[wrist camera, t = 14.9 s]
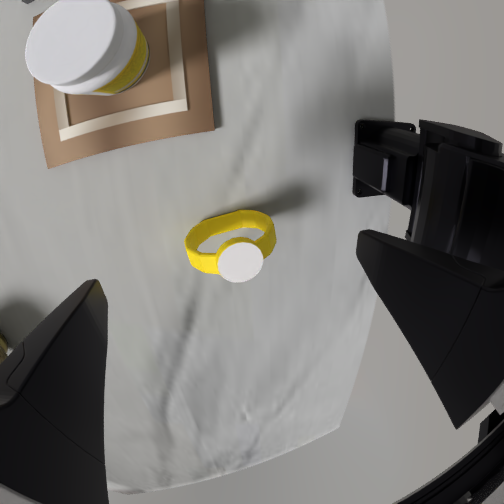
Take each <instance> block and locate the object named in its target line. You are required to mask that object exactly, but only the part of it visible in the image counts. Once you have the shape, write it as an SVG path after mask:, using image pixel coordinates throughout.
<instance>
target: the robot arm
mask: <svg viewBox="0 0 504 504" xmlns="http://www.w3.org/2000/svg"><path fill="white" fill-rule="evenodd" d="M361 124H363V127H362V128H361V127H360V126H361ZM419 127H420V134H417V133H416V127H415V125H414V124H411V123H403V122H391V121H377V120H358V121H356V123H355V146H354V157H353V194H354V195H355V196H357V197H359V198H360V197H369V196H377V195H387V196H388V197H390V198H392V199H393V200H395V201H397V202H399V203H400V204H402V205H403V206H405V207H407V208H408V209H410V210H411V215H410V221H409V226H408V230H406V235H405V238H406V240H404V239H401V238H398V237H394V236H391V235H388V234H384V233H381V232H377V231H374V230H370V229H368V230H362V231H360V232H359V234H358V240H357V248H356V255H357V258H358V260H359V262H360V264H361V265H362V267H363V269H364V271H365V273H366V275H367V276H368V278H369V280H370V282H371V284H372V286H373V287H374V289H375V291H376V292H377V294H378V295H379V297H380V298H381V300H382V301H383V303H384V304H385V306H386V308H387V309H388V311H389V312H390V314H391V315H392V317H393V318H394V320H395V322H396V323H397V325H398V326H399V328H400V329H401V331H402V333H403V334H404V336H405V338H406V339H407V341H408V342H409V344H410V346H411V348H412V349H413V351H414V352H415V354H416V356H417V358H418V360H419V361H420V363H421V365H422V366H423V368H424V370H425V372H426V374H427V375H428V377H429V379H430V381H431V383H432V385H433V386H434V388H435V390H436V392H437V394H438V396H439V398H440V400H441V401H442V403H443V405H444V407H445V409H446V411H447V413H448V415H449V417H450V419H451V421H452V423H453V425H454V427H455V428H456V429H458V428H460V427H461V426H462V425H463V424H464V423H466V422H467V421H469V420H470V419H471V418H472V417H473V416H475V415H476V414H477V413H478V412H479V411H481V410H482V409H483V408H484V407H485V406H486V405H487V404H488V403H490V402H491V403H492V405H493V406H494V407H495V410H494V411H493V412H492V413H491V414H490V415H489V416H488V417H487V418H486V419H485V420H484V421H482V422H481V423H480V431H479V438H478V444H477V445H476V446H475V447H474V448H473V449H472V450H470V451H469V452H468V453H467V454H466V455H464V456H463V457H462V458H461V459H459V460H458V461H457V462H456V463H454V464H453V465H452V466H451V467H449V468H448V469H446V470H445V471H443V472H442V473H441V474H439V475H438V476H436V477H435V478H434V479H432V480H431V481H429V482H428V483H426V484H425V485H423V486H421V487H420V488H418V489H417V490H415V491H414V492H412V493H410V494H408V495H407V496H405V497H403V498H402V499H400V500H398V501H396V502H395V503H393V504H504V154H503V153H502V143H501V142H499V141H497V140H495V139H493V138H491V137H490V136H487V135H486V134H484V133H481V132H478V131H475V130H471V129H468V128H464V127H460V126H456V125H451V124H445V123H439V122H433V121H427V120H419ZM410 128H411V130H410ZM359 189H360V192H359V193H358V190H359ZM107 345H108V302H107V299H106V296H105V294H104V292H103V289H102V287H101V284H100V282H99V281H98V280H97V279H92V280H87V281H85V282H84V283H83V284H82V285H81V286H80V287H79V288H77V289H76V290H75V291H74V292H73V293H72V294H71V295H70V296H69V297H67V298H66V299H65V300H64V301H63V302H62V303H61V304H60V305H59V306H58V307H57V308H56V309H55V310H54V311H52V312H51V313H50V314H49V315H48V316H47V317H46V318H45V319H44V320H43V321H42V322H41V323H40V324H39V325H38V326H37V327H36V328H35V329H34V330H33V331H32V332H31V333H30V334H29V335H28V336H27V337H26V338H25V339H24V340H23V342H21V343H20V344H19V345H18V346H17V347H16V348H15V349H14V350H13V352H12V353H11V354H10V355H9V356H8V357H7V358H6V359H5V360H4V361H3V362H2V363H1V364H0V504H109V500H108V491H107V481H106V469H105V465H104V464H105V455H104V388H105V370H106V357H107Z"/></svg>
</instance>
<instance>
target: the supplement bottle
mask: <svg viewBox="0 0 504 504" xmlns="http://www.w3.org/2000/svg"><path fill="white" fill-rule="evenodd" d="M25 57H26V63H27V67H28V69H29V71H30V73H31V74H32V75H33V76H34V77H35V78H36V79H37V80H39V81H40V82H43V83H45V84H50V85H51V86H52V87H54V88H55V89H57V90H59V91H61V92H64V93H67V94H74V95H102V96H109V95H116V94H119V93H122V92H124V91H126V90H128V89H130V88H131V87H133V86H134V85H135V84H136V83H137V82H138V81H139V80H140V79H141V78H142V77H143V75H144V73H145V72H146V70H147V67H148V64H149V60H150V49H149V44H148V42H147V40H146V38H145V37H144V35H143V34H142V32H141V30H140V28H139V27H138V25H137V23H136V22H135V20H134V18H133V17H132V15H131V14H130V13H129V12H128V11H127V10H126V9H125V8H123V7H122V6H120V5H118V4H116V3H113V2H110V1H109V0H59V1H58V2H56V3H55V4H53V5H52V6H51V7H49V8H48V9H47V10H46V11H45V12H44V13H43V14H42V15H41V16H40V18H39V19H38V20H37V22H36V23H35V24H34V26H33V28H32V30H31V32H30V34H29V37H28V40H27V43H26V50H25Z"/></svg>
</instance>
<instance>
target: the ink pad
mask: <svg viewBox="0 0 504 504" xmlns="http://www.w3.org/2000/svg"><path fill="white" fill-rule="evenodd" d="M32 1H34V0H22V2H24V3H26V4H28V3H30V2H32Z"/></svg>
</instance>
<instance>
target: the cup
mask: <svg viewBox="0 0 504 504" xmlns="http://www.w3.org/2000/svg"><path fill="white" fill-rule="evenodd" d="M7 351H8V344H7V341H6V339H5V338H4V336H3V335H2V334H1V333H0V364H1V363H2V362H3V361H4V360H5V359H6V358H7V357H8V356H7V354H6V353H7Z"/></svg>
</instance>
